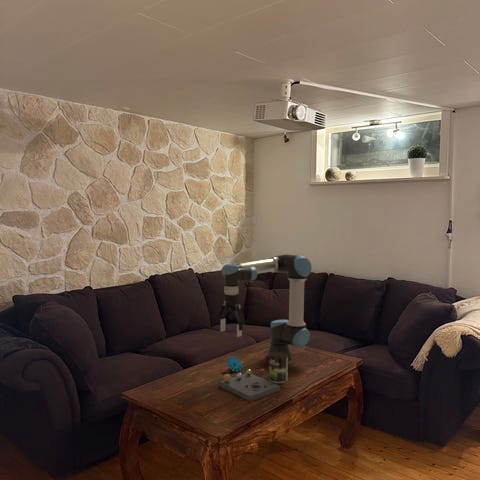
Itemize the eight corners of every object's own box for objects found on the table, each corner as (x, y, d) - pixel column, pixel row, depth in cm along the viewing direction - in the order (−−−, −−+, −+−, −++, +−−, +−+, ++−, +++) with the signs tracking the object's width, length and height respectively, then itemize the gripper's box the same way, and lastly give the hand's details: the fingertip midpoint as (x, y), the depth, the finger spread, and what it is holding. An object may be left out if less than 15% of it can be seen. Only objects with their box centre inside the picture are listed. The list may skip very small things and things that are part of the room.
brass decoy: (249, 373, 243) (249, 368, 243) (253, 375, 241) (253, 369, 241) (244, 375, 241) (244, 369, 241) (248, 376, 239) (248, 370, 238)
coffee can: (280, 384, 234) (280, 358, 233) (264, 379, 241) (265, 354, 240) (291, 379, 242) (292, 354, 241) (276, 374, 249) (277, 349, 248)
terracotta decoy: (227, 380, 234) (227, 372, 234) (232, 382, 231) (232, 374, 231) (221, 381, 232) (221, 374, 231) (226, 384, 228) (226, 376, 228)
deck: (219, 386, 232) (219, 381, 232) (248, 377, 245) (248, 372, 245) (250, 401, 214) (250, 396, 214) (279, 390, 227) (279, 385, 227)
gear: (230, 371, 249) (225, 355, 255) (225, 376, 252) (220, 360, 258) (246, 370, 255) (240, 354, 261) (241, 375, 258) (236, 359, 264)
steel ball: (239, 377, 238) (239, 371, 237) (243, 379, 235) (243, 373, 235) (235, 379, 236) (235, 373, 235) (239, 380, 233) (239, 374, 233)
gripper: (211, 291, 242) (211, 329, 243) (241, 298, 223) (241, 340, 224) (222, 289, 247) (221, 327, 248) (252, 296, 228) (252, 337, 229)
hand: (231, 333), depth 236 cm, fingers open, 13 cm apart
